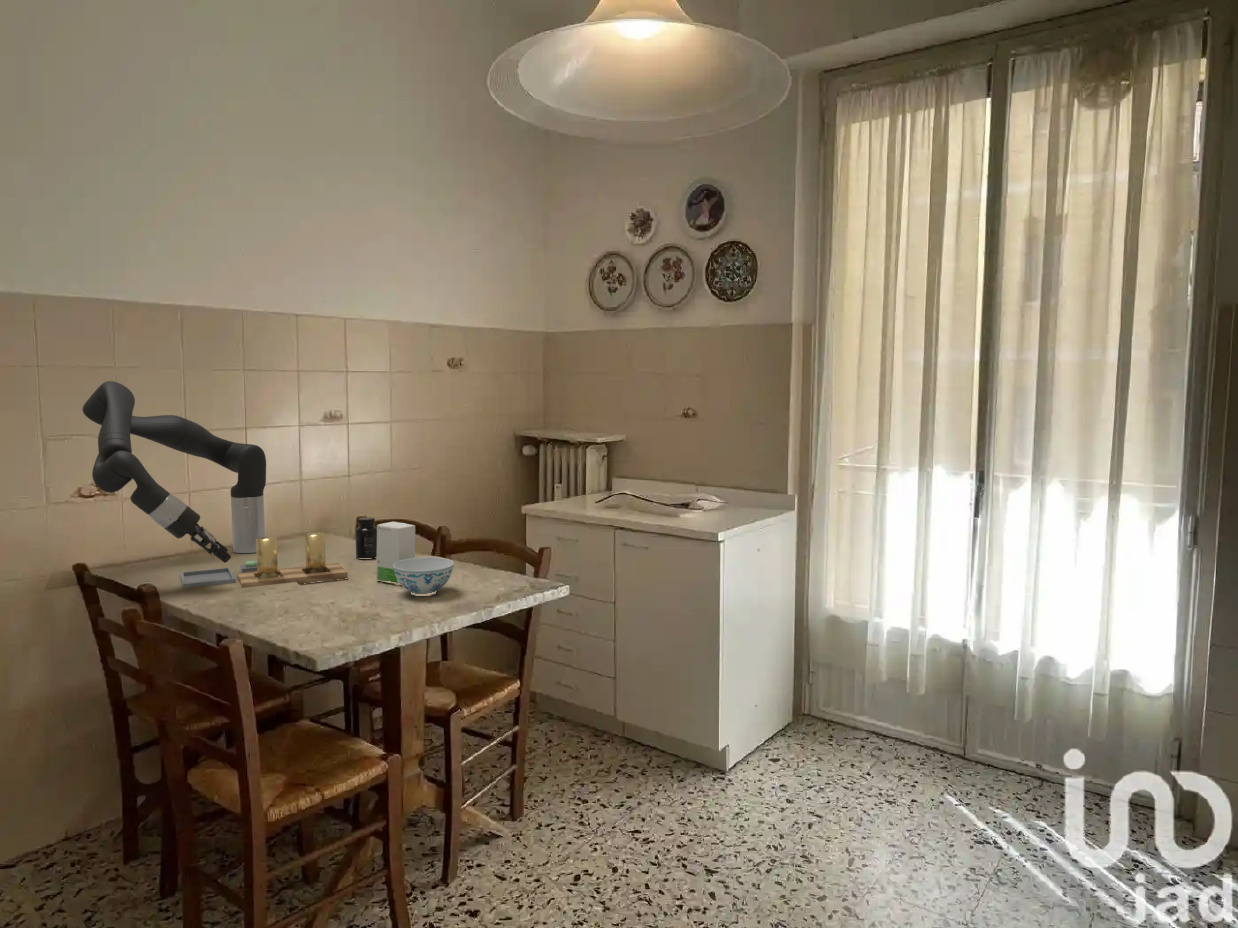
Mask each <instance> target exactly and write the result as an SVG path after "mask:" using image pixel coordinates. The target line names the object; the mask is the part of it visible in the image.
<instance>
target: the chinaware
mask: <svg viewBox="0 0 1238 928" xmlns="http://www.w3.org/2000/svg"><path fill="white" fill-rule="evenodd" d="M454 565H455V563H454V561H453V560H452V559H450V558H444V557H438V556H437V557H435V556H423V557H421V556H420V557H415V558H410V559H404V560H401V561H398V562H396V563H394V564H393V568H394V572H395V575H396V577H397V579H398V581H399V582H400V584H401V585H400V586H402V587H403V588H404V589H406V590H407V591H408V592H410V591H411V592H412V593H415V594H427V593H432V592H435V591H437V590H438V591H439V590H440V589H441V588H443V587H444V586H445V585H446V584H447V582H448V581H449V580H450V578H451V575H452V573H453V569H454Z"/></svg>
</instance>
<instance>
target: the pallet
mask: <svg viewBox="0 0 1238 928" xmlns="http://www.w3.org/2000/svg"><path fill="white" fill-rule="evenodd" d="M348 574H349V572H348V571H347V569H346V568H344V567H343V566H342V565H341V564H340V563H338V562H336V563H335V562H334V563H326V572H322V573H313V574H306V565H305V566H298V567H297V566H295V567H286V568H278V577H275V578H266V579H258V575H257V571H255V572H245V573H241V572H238V573H236V575H237V577H236V579H237V580H238V581H239V583H240V586H241V588H252V587H258V586H271V585H276V584H278V585H279V584H287V583H288V584H289V583H297V584H298V585H299V584H303V585H305V584H304V583H311V582H317V581H329V582H331V581H330V580H337V579H345V578H348ZM348 579H349V578H348Z"/></svg>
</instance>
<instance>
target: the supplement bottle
mask: <svg viewBox="0 0 1238 928" xmlns="http://www.w3.org/2000/svg"><path fill="white" fill-rule="evenodd" d="M357 520H358V521H357V525H358V527H356V529H355V531H354V534H355V538H354V539H355V557H356V559H357V558H375V557H377V525H376V519H375V517H374V516H373V517H370V516H369V517H367V516H365V517H359V518H358V519H357ZM375 525H376V526H375ZM375 559H376V558H375Z"/></svg>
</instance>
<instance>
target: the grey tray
mask: <svg viewBox="0 0 1238 928" xmlns="http://www.w3.org/2000/svg"><path fill="white" fill-rule="evenodd" d="M180 579H181V584H182V588H183V589H190V588H199V587H209V586H217V585H218V586H219V585H225V584H226V585H229V584H236V577H235V575H234V573H233V571H232V568H231V567H221V568H212V569H211V568H210V569H209V568H208V569H201V570H191V571H180Z"/></svg>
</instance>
